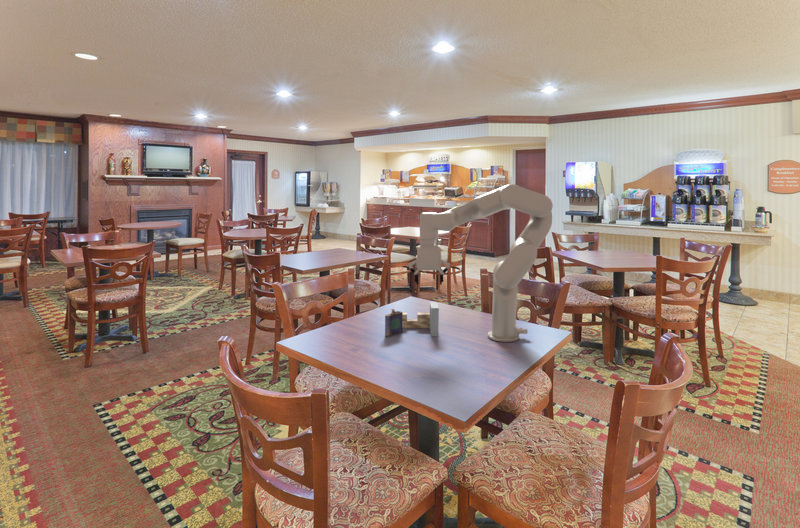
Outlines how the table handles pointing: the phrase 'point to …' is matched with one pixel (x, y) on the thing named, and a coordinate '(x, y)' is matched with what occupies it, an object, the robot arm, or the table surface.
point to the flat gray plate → (434, 318)
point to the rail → (416, 321)
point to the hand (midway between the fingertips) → (429, 283)
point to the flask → (393, 323)
